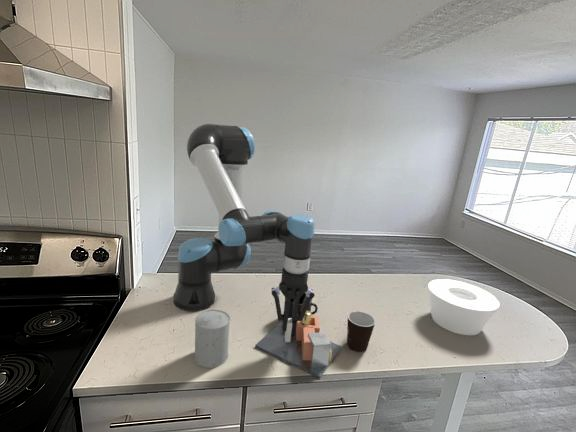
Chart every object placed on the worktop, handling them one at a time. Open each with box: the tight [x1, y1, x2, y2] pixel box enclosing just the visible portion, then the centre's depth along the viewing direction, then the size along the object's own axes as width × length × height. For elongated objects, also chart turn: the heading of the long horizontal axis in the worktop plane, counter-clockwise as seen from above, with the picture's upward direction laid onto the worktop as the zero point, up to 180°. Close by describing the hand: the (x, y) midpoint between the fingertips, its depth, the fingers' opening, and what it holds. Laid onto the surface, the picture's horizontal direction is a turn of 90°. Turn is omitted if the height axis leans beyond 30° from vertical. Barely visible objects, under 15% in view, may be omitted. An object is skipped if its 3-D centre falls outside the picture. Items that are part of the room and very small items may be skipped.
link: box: [296, 314, 321, 361], centre depth 103 cm, size 16×7×5 cm, turn 179°
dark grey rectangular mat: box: [255, 320, 342, 379], centre depth 102 cm, size 22×16×1 cm
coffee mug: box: [346, 310, 376, 353], centre depth 105 cm, size 12×9×10 cm
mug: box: [284, 293, 319, 318], centre depth 116 cm, size 9×12×9 cm
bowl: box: [427, 278, 501, 336], centre depth 124 cm, size 24×24×12 cm
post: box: [302, 311, 312, 325], centre depth 106 cm, size 3×3×8 cm
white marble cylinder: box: [193, 309, 231, 369], centre depth 93 cm, size 10×10×12 cm
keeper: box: [308, 331, 332, 368], centre depth 95 cm, size 6×6×7 cm
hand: (287, 339), depth 100 cm, fingers closed
